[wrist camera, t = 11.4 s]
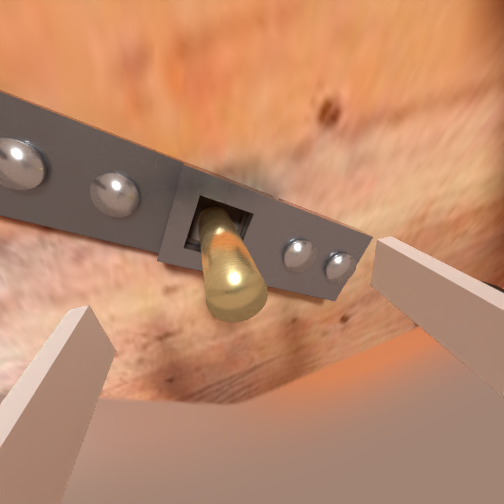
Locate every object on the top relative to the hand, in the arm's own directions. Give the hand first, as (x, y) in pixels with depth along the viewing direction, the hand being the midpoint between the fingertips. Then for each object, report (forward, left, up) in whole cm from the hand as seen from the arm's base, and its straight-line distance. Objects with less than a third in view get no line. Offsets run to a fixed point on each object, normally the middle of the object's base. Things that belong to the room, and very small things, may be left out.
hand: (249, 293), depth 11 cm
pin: (0, -1, -12) cm, 12 cm away
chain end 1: (-3, -6, -12) cm, 14 cm away
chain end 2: (+3, +4, -12) cm, 13 cm away
